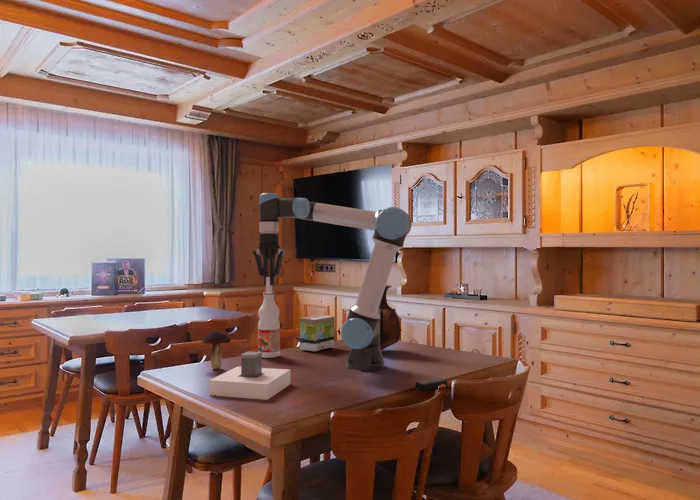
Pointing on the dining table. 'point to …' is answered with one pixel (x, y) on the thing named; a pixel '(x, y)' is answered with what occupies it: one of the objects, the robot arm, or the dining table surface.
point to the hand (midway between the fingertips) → (269, 293)
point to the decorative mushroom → (216, 347)
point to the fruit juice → (269, 327)
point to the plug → (251, 364)
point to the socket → (250, 384)
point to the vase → (388, 323)
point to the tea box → (317, 332)
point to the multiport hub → (430, 384)
